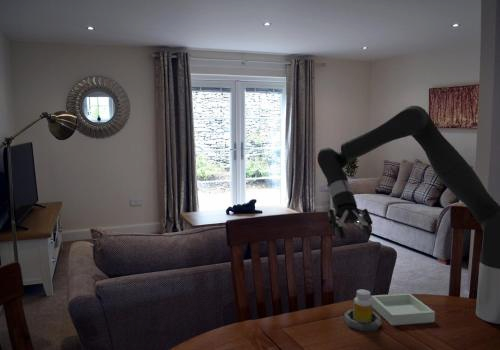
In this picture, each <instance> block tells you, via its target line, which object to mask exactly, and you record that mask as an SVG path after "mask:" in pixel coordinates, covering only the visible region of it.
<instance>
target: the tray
mask: <svg viewBox="0 0 500 350" xmlns="http://www.w3.org/2000/svg"><path fill="white" fill-rule="evenodd" d="M370 299H371V300H372V309H374V310H375V311H376V313H378V314H379V316H381V318H382V319H383V318H384V320H385V321H386V322H387V323H389V325H391V326H400V325H401V326H402V325H413V324H415V325H416V324H427V323H435V318H436V311H434V310H433V309H432V308H431V307H429V306H427V305H426V304H425V303H423V302H422V301H421V300H420V299H419V298H416V297H415V296H414V295H413V294H411V293H409V292H408V293H391V294H377V295H370Z"/></svg>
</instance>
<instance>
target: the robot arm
mask: <svg viewBox="0 0 500 350" xmlns="http://www.w3.org/2000/svg"><path fill="white" fill-rule="evenodd" d="M407 137H412V138H413V139H414V140H415V141H416V142H417V143H418V145H420V147H421V148H422V150H423V152H424V153H425V155H426V158H427V159H428V161H429V163H430V166H431V168H432V170H433V172H434V173H435V174H436V176H437V177H438V178H439V180H440V181H441V182H442V183H443V184H444V185H445V187H446V188H447V189H448V190H449V191H450V193H452V194H453V195H454V196H455V197H456V198H457V199H459V200H460V201H461V202H462V203H463V204H464V205H465V206H466V207H467V208H468V210H469V211H470V213H472V215H473V216H474V218H475V220H476V221H477V222H478V224H479V225H480V227H481V230H482V232H483V233H482V234H483V235H482V246H481V251H480V253H479V254H480V255H479V256H480V257H479V266H478V281H477V291H476V292H477V295H476V307H475V315H476V316H477V317H478V318H479V319H481V320H483V321H484V322H488V323H491V324H497V325H498V324H499V325H500V204H499V203H498V202H497V201H496V200H495V199H494V198H493V197H492V196H491V195H490V193H488V191H487V189H486V187H485V186H484V184H483V182H482V181H481V179H480V178H479V176H478V175H477V173H476V172H475V170H474V169H473V168H472V166H471V165H470V164H469V163H468V162H467V160H466V159H465V158H464V157H463V156H462V155H461V154H460V153H459V151H458V150H457V149H456V148H455V147H454V146H453V145H452V144H451V143H450V142H449V141H448V140H447V138H445V136H444V135H443V134H442V132H441V131H440V130H439V129H438V127H437V126H436V124H435V122H434V121H433V120H432V118H431V117H430V114H429V113H428V112H427V111H426V110H425V108H423V107H422V106H419V105H409V106H406V107H404V108H402V109H401V110H400V111H399V112H397V113H396V114H395V115H393V116H392V117H390V118H389V119H388V120H386V121H385V122H383V123H381V124H380V125H378V126H377V127H374V128H372V129H370V130H367V131H365V132H363V133H360V134H358V135H356V136H354V137H351V138H350V139H348V140H346V141H344V142H343V143H342V144H340V151H339V152H337V151H336V150H334V149H332V148H331V147H323V148H321V149H320V150H319V152H318V153H317V163H318V166H319V168H320V170H321V172H322V174H323V175H324V177H325V179H326V182H327V185H328V189H329V194H330V198H331V201H332V204H333V205H332V206H333V208H334V210H333V209H331V208H330V209H329V211H328V212H327V214H326V215H327V219H328V223H329V224H328V225H329V228H330V229H335V230H336V233H337V236H338V238H339V239H340V241H344V240H345V238H346V234H345V230H344V227H343V223H344V224H355V225H356V226H359V227H360V228H361V231H362V234H363V237H364V239H365V240H368V239H369V238H370V237H371V232H370V231H371V230H370V227H371V226H372V225H373V224H374V223H373V220H372V217H371V215H370V213H369V211H368V209H367V208H364V209H362V210H360V209H359V208H358V205H357V204H358V203H357V201H356V198H355V195H354V192H353V189H352V187H351V185H350V183H349V180H348V177H347V174H346V172H345V171H344V168H345V167H346V166H348V165H349V164H350V163H352V161H354V160H355V159H357V158H360V157H362V156H364V155H366V154H369V153H370V152H372V151H374V150H375V149H377V148H379V147H381V146H383V145H385V144H388V143H390V142H392V141H395V140H400V139H402V138H407ZM335 216H336V217H337V218H338V219H339V220H338V222H337V223H336V217H335Z"/></svg>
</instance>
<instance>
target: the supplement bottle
mask: <svg viewBox="0 0 500 350" xmlns="http://www.w3.org/2000/svg"><path fill="white" fill-rule="evenodd" d="M355 294H356V297H354V299H353V309H354V312H353V317H352V320H355V321H358V322H361V323H370V322H373V319H372V311H373V307H372V300H371V292H370V291H369V290H366V289H362V288H361V289H357V290H356V293H355Z"/></svg>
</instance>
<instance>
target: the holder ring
mask: <svg viewBox="0 0 500 350" xmlns="http://www.w3.org/2000/svg"><path fill="white" fill-rule="evenodd" d="M353 312H354V308H350V309H348V310H346V312H345V313H344V314H343V321H344V322H345V324H346V325H347V326H348V327H349V328H351V329H355V330H357V331H361V332H373V331H377V330H378V329H379V328H380V327H381V325H382V317H380V315H378V314H377V312H375V311H373V310H372V322H370V323H361V322H358V321H355V320H353Z"/></svg>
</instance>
